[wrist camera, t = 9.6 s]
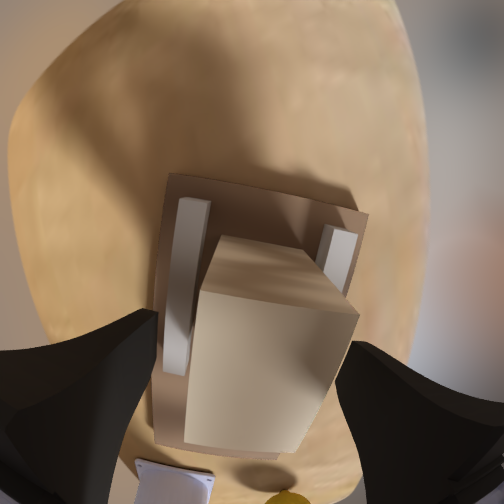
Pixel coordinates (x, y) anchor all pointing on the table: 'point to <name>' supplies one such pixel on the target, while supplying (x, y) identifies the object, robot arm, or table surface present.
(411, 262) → the table surface
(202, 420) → the block
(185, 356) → the board
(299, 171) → the table surface
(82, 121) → the table surface
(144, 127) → the table surface
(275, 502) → the lemon
